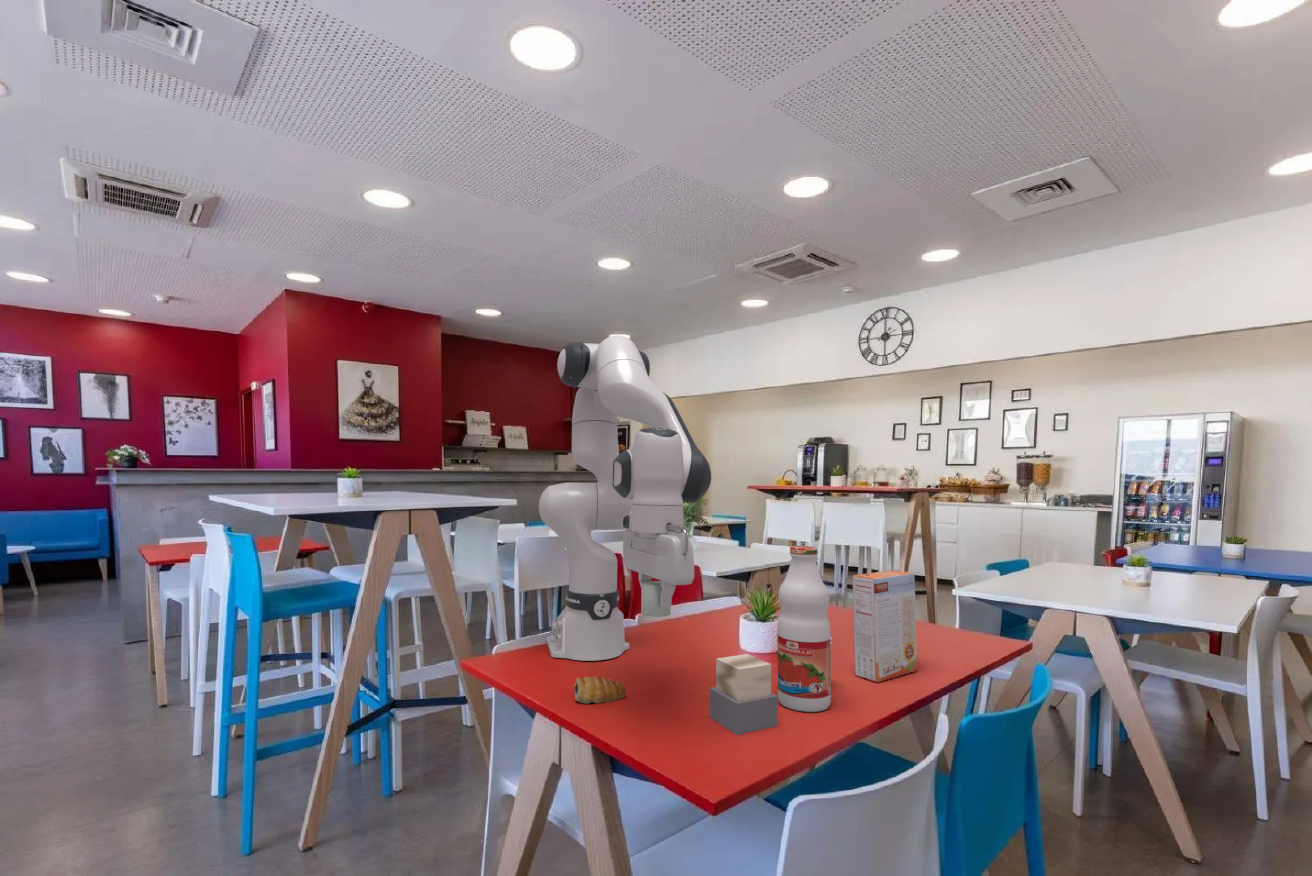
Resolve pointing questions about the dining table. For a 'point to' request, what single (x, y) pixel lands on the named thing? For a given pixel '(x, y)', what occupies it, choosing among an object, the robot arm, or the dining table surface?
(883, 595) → the cracker box
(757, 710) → the tower base
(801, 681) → the fruit juice
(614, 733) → the dining table surface
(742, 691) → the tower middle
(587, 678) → the pastry
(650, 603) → the grey round cylinder
